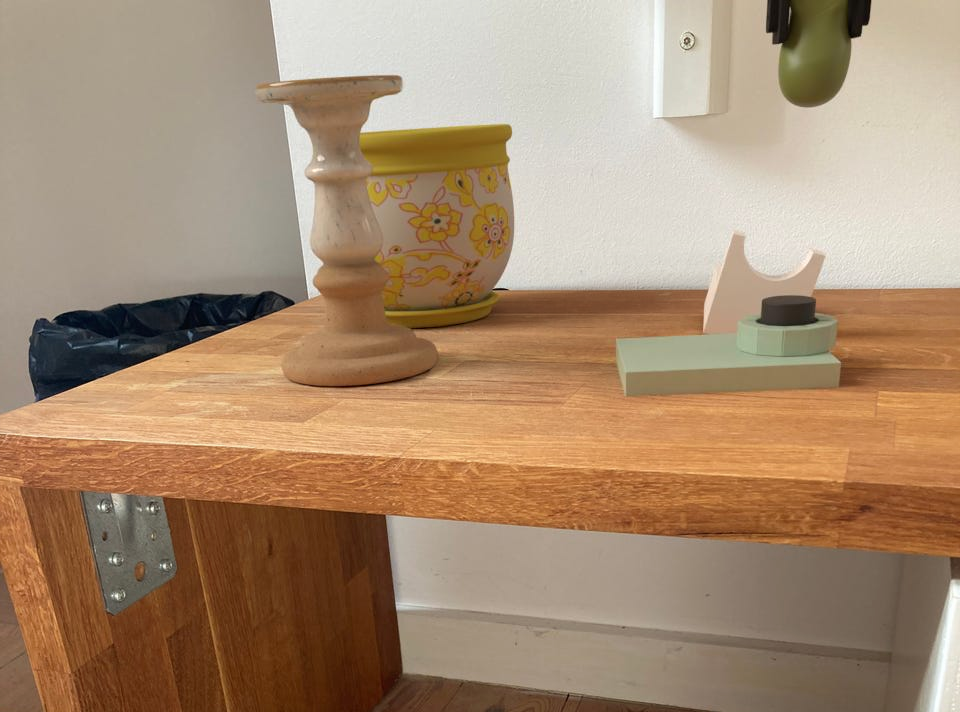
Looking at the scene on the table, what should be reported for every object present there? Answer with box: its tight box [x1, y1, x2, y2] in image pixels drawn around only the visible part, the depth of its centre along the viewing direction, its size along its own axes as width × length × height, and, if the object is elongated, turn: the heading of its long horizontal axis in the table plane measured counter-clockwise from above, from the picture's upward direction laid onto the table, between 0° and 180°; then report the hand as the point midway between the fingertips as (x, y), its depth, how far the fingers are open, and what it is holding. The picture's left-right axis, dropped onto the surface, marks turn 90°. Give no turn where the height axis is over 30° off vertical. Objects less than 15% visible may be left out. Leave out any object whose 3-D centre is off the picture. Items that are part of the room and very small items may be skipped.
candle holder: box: [254, 74, 439, 387], centre depth 77 cm, size 12×12×20 cm
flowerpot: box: [359, 123, 515, 329], centre depth 97 cm, size 18×18×16 cm
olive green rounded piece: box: [777, 0, 853, 109], centre depth 82 cm, size 6×5×10 cm
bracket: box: [702, 229, 826, 335], centre depth 85 cm, size 13×7×8 cm, turn 169°
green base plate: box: [615, 312, 842, 397], centre depth 72 cm, size 15×11×4 cm
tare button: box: [760, 295, 817, 326], centre depth 71 cm, size 4×4×2 cm
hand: (816, 37), depth 82 cm, fingers closed on olive green rounded piece, 5 cm apart
